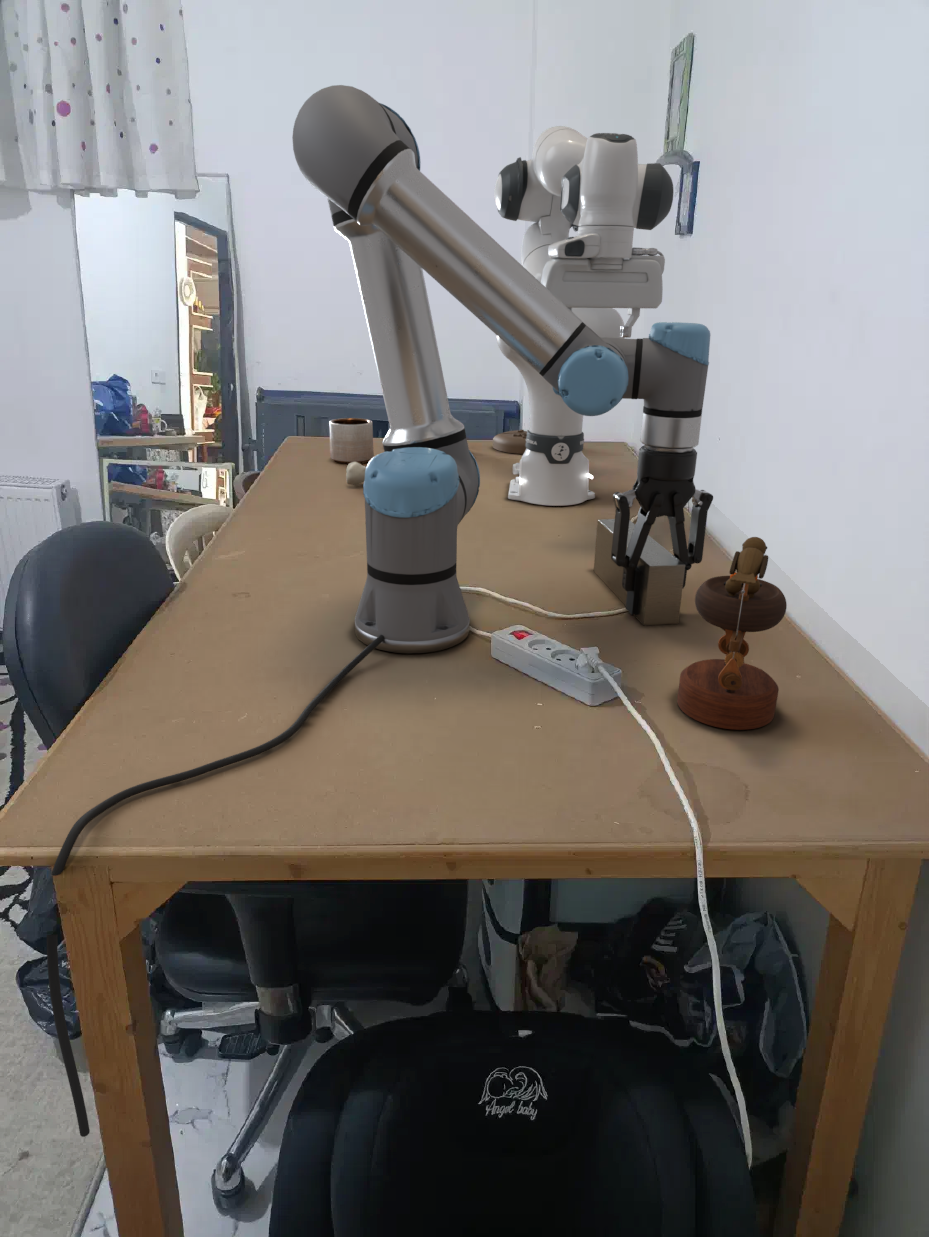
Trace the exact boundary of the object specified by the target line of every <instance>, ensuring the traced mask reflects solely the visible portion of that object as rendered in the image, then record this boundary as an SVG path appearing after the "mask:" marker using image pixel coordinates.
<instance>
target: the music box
mask: <svg viewBox="0 0 929 1237" xmlns="http://www.w3.org/2000/svg"><path fill="white" fill-rule="evenodd" d="M741 547H742V549H741V551H739V550H738V551H737V550H736V551H735V553H734V555H733V558H732V562H731V565H730V568H729V574H730V575H718V576H714V577H710V578H708V579H706V580H705V581H704V582H702V583H701V585H699V587H698V589H697V590H696V592H695V595H694V604H695V609H696V611H697V613H698V614H699V616H700V617H701V618H702V619H703V620H704V621H705V622H707V623H709V624H710V625H712V626H715V627H717V628H720V629H721V630H723V631H724V635H722V636H721V637H719V639H718V642H717V647H718V649H719V651H720V652H721V653H722V654H724V655H725V656H724V659H723V658H712V659H711V658H710V659H702V660H698V661H695V662H693V663H691V664H690V665H688V666H686V667H684V668H683V669H682V670H681V672H680V675H679V683H678V690H677V698H676V702H677V706H678V707H679V709H680V710H681V711H682V712H683V713H684V714H685V715H686V716H688V717H689V718H691V719H693V720H695V721H697V722H699V723H702V724H705V725H707V726H711V727H716V728H718V729H719V728H720V729H725V730H734V731H735V730H736V731H738V730H739V731H741V730H745V731H746V730H754V729H758V728H762V727H764V726H766V725H768V724H770V723H771V722H772V721H773V719H774V718H775V713H776V707H777V703H778V702H777V701H778V696H779V690H780V688H779V685H778V683H777V682H776V680H775V679H773V677H772V676H771V675H770V674H769V673H767V671H765V670H763V669H761V668H759V667H757V666H755V665H752V664H749V663H747V662H745V657H746V656H747V655H748V654H749V651H750V646H749V643H748V641H746V640H745V639H744V638H745V635H746V633H757V632H765V631H768V630H770V629H772V628H774V627H775V626H777V625H778V624H779V623H780V622H782V620H783V618H784V617H785V615H786V612H787V609H788V608H787V606H788V605H787V604H788V603H787V599H786V596H785V594H784V593H783V591H782V590H781V589H780V587H778V586H777V585H775V584H773V583H772V582H769V581H766V580H763V578H764V577H765V574H766V572H767V569H768V568H767V567H768V564H769V555H767V554H766V552H767V550H768V546H767V545H766V542H765V541H764V539H763V538H761V537H758V536H751V537H748V538H747V539H746V540H745V541H744V542H743V543H742V544H741Z"/></svg>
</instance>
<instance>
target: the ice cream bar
mask: <svg viewBox="0 0 929 1237" xmlns="http://www.w3.org/2000/svg"><path fill="white" fill-rule="evenodd" d="M528 430H529V429H527V430H524V429H523V428H522V429H516V430H509V431H504V432H500V433H497V434H495V435H494V436H493V437H492V448H493V449H494V450H496V451H499V452H503V453H509V454H518V455H519V454H520V455H523V454H524V452H525V450H526V446H525V445H526V436H527V431H528Z"/></svg>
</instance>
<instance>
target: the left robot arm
mask: <svg viewBox="0 0 929 1237" xmlns="http://www.w3.org/2000/svg"><path fill="white" fill-rule="evenodd" d="M294 120H295V121H294V123H293V128H292V129H293V130H292V151H293V155H294V159H295V161H296V164H297V166H298V168H299V171H300V173H301V174H302V176H303V177H304V179H305V180H306V181H307V182H308V184H310V186H311V187H313V189H315V191H317V192H319V193H320V194H321V195H323V196H324V197H326V198H327V204H328V208H329V212H330V217H331V221H332V225H333V229H334V231H335V232H336V233H338V234H339V235H340V236H342V237H343V238H344V239H345V240H347V241H348V243H349V247H350V252H351V256H352V261H353V265H354V270H355V274H356V279H357V284H358V288H359V293H360V295H361V301H362V306H363V310H364V315H365V319H366V325H367V328H368V333H369V339H370V342H371V347H372V352H373V356H374V361H375V366H376V370H377V375H378V379H379V383H380V387H381V388H380V389H381V392H382V397H383V401H384V406H385V410H386V415H387V420H388V424H389V429H388V431H387V433H386V435H385V436H384V438H383V440H382V447H383V452H381V453H378V454H376V455H374V457H373V458H372V459H371V460H370V461H368V463H367V464H366V466H365V467H366V470H365V481H364V482H363V485H362V486H363V490H362V493H363V497H364V515H365V516H364V517H365V518H364V520H365V545H366V547H365V548H366V579H365V584H364V586H363V589H362V592H361V596H360V600H359V602H358V606H357V609H356V612H355V617H354V633H355V636H356V638H357V639H358V640H359V641H360V642H362V643H363V644H365V645H367V646H366V647H365V648H364V649H362V650H361V652H359V653H358V654H357V655H356V656H355V657H354V658H353V659H352V660H351V661H350V662H349V663H348V664H346V665H345V666H344V668H342V669H341V670H340V671H339V673H337V674H336V675H335V676H334V677H333V678H332V679H331V680H330V681H329V682H328V683H327V684H326V685H325V686H324V687H323V688H322V690H321V691H320V692H319V693H318V694H317V695H316V696H315V697H314V698H312V700H310V702H309V703H308V704H307V706H305V708H304V709H303V711H302V712H301V713H300V715H299V716H298V718H297V719H296V720H295V721H294V723H292V725H290V727H288V728H287V729H286V730H285V731H283V732H282V733H280V734H279V735H277V736H275V737H274V738H272V739H270V740H268V741H266V742H265V743H262V744H260V745H258V746H255V747H253V748H250V749H248V750H245V751H242V752H239V753H236V754H233V755H229V756H227V757H223V758H220V759H218V760H215V761H212V762H209V763H206V764H204V765H201V766H198V767H194V768H191V769H189V770H185V771H182V772H179V773H174V774H170V775H168V776H164V777H159V778H156V779H153V780H149V781H146V782H142V783H139V784H136V785H134V786H131V787H128V788H125V789H123V790H122V791H120V792H118V793H115V794H113V795H112V796H110V797H109V798H107V799H105V800H103V801H102V802H100V803H98V804H96V805H95V806H94V807H92V808H91V809H89V810H88V811H86V812H85V813H84V814H83V815H81V817H79V818H78V819H77V820H76V822H75V823H74V824H73V826H72V827H71V829H70V830H69V832H68V834H67V836H66V837H65V840H64V842H63V844H62V846H61V848H60V851H59V853H58V855H57V857H56V859H55V862H54V865H53V868H52V871H51V876H53V877H56V876H59V875H61V874H62V873H63V872H64V869H65V866H66V865H67V862H68V860H69V857H70V855H71V853H72V850H73V848H74V846H75V844H76V841H77V840H78V838H79V836H80V835H81V833H82V832H83V830H84V828H85V827H86V826H87V825H88V824H89V823H90V822H91V821H92V820H94V819H95V818H97V817H98V816H100V815H101V814H102V813H104V812H106V811H107V810H109V809H110V808H112V807H114V806H116V805H117V804H119V803H121V802H122V801H124V800H126V799H129V798H131V797H133V796H135V795H138V794H141V793H144V792H147V791H150V790H151V791H152V790H154V789H157V788H161V787H164V786H165V787H166V786H169V785H173V784H176V783H179V782H183V781H186V780H190V779H193V778H196V777H199V776H202V775H204V774H208V773H210V772H213V771H215V770H218V769H221V768H224V767H227V766H230V765H234V764H236V763H239V762H243V761H245V760H249V759H251V758H253V757H256V756H258V755H261V754H263V753H266V752H267V751H270V750H272V749H274V748H275V747H277V746H279V745H281V744H282V743H283V742H286V741H287V740H288V739H290V738H291V737H292V736H293V735H294V734H296V733H297V732H298V731H299V730H300V729H301V727H303V725H304V724H305V722H306V721H307V719H308V718H309V717H310V715H311V714H312V712H313V711H314V710H315V709H316V708H317V707H318V705H319V704H320V703H321V702H322V701H323V700H324V699H325V698H326V697H327V696H328V695H329V694H330V693H331V692H332V691H333V690H334V688H335V687H336V686H337V685H338V684H339V683H341V682H342V681H343V680H344V678H345V677H346V676H347V675H348V674H349V673H350V672H351V671H352V670H353V669H354V668H356V667H357V666H358V665H359V664H360V663H361V662H362V661H363V660H364V659H365V658H366V657H367V656H369V654H370V653H372V652H373V651H374V650H375V649H377V650H380V651H384V652H390V653H396V654H397V653H398V654H425V653H433V652H439V651H443V650H446V649H449V648H452V647H455V646H457V645H458V644H460V643H462V642H463V641H464V640H466V639H467V637H468V636H469V634H470V616H469V612H468V608H467V606H466V601H465V599H464V596H463V593H462V589H461V586H460V583H459V581H458V577H457V561H458V560H457V559H458V558H457V557H458V556H457V554H458V552H457V551H458V526H459V525H460V523H461V522H462V521H463V519H464V518H465V516H466V515H467V514H468V513H469V512H470V511H471V509H472V508H473V506H474V505H475V503H476V502H477V499H478V496H479V492H480V487H481V486H480V485H481V473H480V472H481V471H480V468H479V464H478V462H477V460H476V458H475V455H473V453H472V452H471V450H470V448H469V443H468V438H467V433H466V429H465V424H464V423H463V422H461V421H460V420H458V419H457V418H455V417H454V416H453V415H452V413H451V408H450V403H449V397H448V392H447V388H446V383H445V382H446V381H445V377H444V372H443V368H442V362H441V357H440V352H439V347H438V341H437V337H436V331H435V326H434V322H433V316H432V310H431V306H430V300H429V295H428V289H427V285H426V280H425V275H424V271H425V272H426V273H427V274H428V275H429V276H430V277H431V278H432V279H434V280H435V281H436V282H437V283H438V284H439V285H440V286H441V287H442V288H444V289H445V291H447V292H448V293H449V294H450V295H451V296H452V297H454V298H455V299H456V300H457V301H458V302H459V303H460V304H461V305H462V306H464V308H466V309H467V310H468V311H469V312H470V313H471V314H472V315H473V316H474V317H476V318H477V319H478V320H479V321H480V322H481V323H482V324H483V325H485V326H486V327H487V328H488V329H489V330H490V331H491V332H493V334H494V335H495V336H496V335H497V336H498V337H499V338H500V339H502V340H503V341H504V342H505V343H506V344H507V345H508V346H509V347H511V348H512V349H513V350H514V351H515V352H516V353H517V354H518V355H519V356H521V357H522V358H523V359H524V360H525V361H526V362H527V363H528V364H529V365H531V366H532V367H533V368H534V369H535V370H536V371H537V372H538V373H539V374H540V375H541V376H542V377H543V378H544V379H545V380H546V381H547V382H548V383H550V384H551V385H552V386H553V391H554V393H555V394H557V395H559V396H561V397H562V399H563V401H564V402H565V403H566V405H567V406H568V407H569V408H570V409H571V410H573V411H574V412H576V413H578V414H581V415H583V417H584V416H585V417H597V416H602V415H604V414H606V413H608V412H610V411H611V410H613V409H614V408H615V407H616V406H617V405H618V404H620V402H621V401H622V400H623V399H626V400H643V408H642V416H641V417H642V418H641V429H640V431H641V432H640V440H639V441H640V443H641V444H643V445H642V446H640V448H639V449H638V456H637V457H638V459H637V468H636V480H635V482H634V484H633V485H632V488H631V489H629V490H625V491H624V492H620V491H615V492H614V493H613V494H612V500H613V503H614V507H615V512H614V513H615V514H614V519H615V522H614V531H613V541H612V551H611V559H612V561H613V562H614V563H615V564H616V565H618V566H622V567H623V577H622V587H623V588H624V589H625V591H627V599H626V606H625V609H626V611H627V612H628V613H630V615H631V616H635V615H637V611H638V601H639V591H640V582H641V572H642V571H641V570H640V569H639V568H638V567H637V565H638V562H639V559H640V557H641V554H642V551H643V548H644V546H645V543H646V540H647V537H648V535H649V536H650V531H651V529H652V526H653V525H654V524H655V522H656V519H657V518H660V517H663V516H665V517H667V519H668V524H669V532H670V539H671V546H672V552H673V555H674V556H675V557H676V558H677V559H679V560H680V561H681V562H682V563H684V564H685V572H684V580H683V588H682V590H684V589H685V586H686V581H687V576H688V575H687V573H688V571H689V570H691V568H692V565H694V564H700V563H701V562H702V561H703V557H704V556H703V555H704V546H705V537H706V530H707V521H708V512H709V509H710V508H711V505H712V503H713V500H714V495H713V494H712V493H710V492H708V491H706V490H705V489H697V488H696V485H695V482H694V478H695V475H696V468H697V458H698V451H697V450H696V449H695V448H696V447H698V445H699V444H700V434H701V426H702V425H701V424H702V417H703V416H702V415H703V407H704V400H705V391H706V385H707V379H708V371H709V365H710V362H709V359H710V348H711V347H710V344H711V330H710V329H709V327H707V326H706V325H705V324H702V323H696V322H681V321H680V322H677V321H675V322H673V321H672V322H667V321H665V322H661V321H660V322H655V323H653V324H652V325H651V327H650V332H649V334H648V337H642V338H625V339H624V338H605V337H599V336H598V335H597V334H596V333H595V332H594V331H593V330H592V329H590V328H589V327H588V326H587V325H585V324H584V323H583V322H582V321H581V320H580V319H579V318H578V317H577V316H576V315H575V314H574V313H573V312H572V311H571V310H570V309H568V308H567V307H566V306H565V305H564V304H563V303H562V302H561V301H560V300H559V299H558V298H557V297H555V296H554V295H553V294H552V293H551V292H550V291H549V290H548V289H547V288H546V287H545V286H544V285H543V284H541V283H540V282H539V281H538V280H537V279H536V278H535V277H534V276H533V275H532V274H531V273H530V272H528V271H527V270H526V269H525V268H524V267H523V266H522V263H520V262H519V261H518V260H517V259H516V258H515V257H513V256H512V255H511V253H509V252H508V251H507V250H506V249H505V248H504V247H502V245H500V243H498V241H496V240H495V239H494V238H493V237H492V236H491V235H489V233H488V232H486V231H485V230H484V229H483V228H482V227H481V226H480V225H479V224H478V223H477V222H476V221H475V220H473V219H472V218H471V217H470V216H469V215H468V214H467V213H466V212H464V210H463V209H462V208H460V207H459V205H457V204H456V203H455V202H454V201H453V200H452V199H451V198H450V197H449V196H448V195H447V194H445V193H444V192H443V190H441V189H440V188H439V187H438V186H437V185H436V184H434V183H433V181H431V180H430V179H429V178H428V177H427V176H426V175H425V174H424V173H423V172H422V171H421V164H422V163H421V154H420V148H419V145H418V142H417V140H416V137H415V135H414V133H413V131H412V128H410V127H409V125H408V124H407V122H406V120H405V119H404V118H403V117H402V116H401V115H400V114H399V113H398V112H396V110H394V109H393V108H391V107H390V106H388V105H386V104H384V103H381V102H379V101H377V100H376V99H375V98H374V97H373V96H371V95H370V94H368V93H367V92H366V91H364V90H362V89H359V88H357V87H354V86H351V85H344V84H337V85H330V86H326V87H323V88H320V89H319V90H317V91H316V92H314V93H312V94H311V95H310V96H309V97H308V98H307V99H306V100H305V101H304V102H303V104H302V106H301V107H300V109H299V110H298V112H297V115H296V118H295V119H294ZM634 500H636V501H637V503H638V504H639V509H638V512H637V519H636V523H635V527H634V530H633V533H632V536H631V539H630V542H629V544H628V547H627V538H628V529H629V520H630V519H631V510H630V509H631V508H632V507H633V505H634ZM689 501H691V504H692V506H691V514H690V524H689V532H688V540H687V536H686V529H685V521H686V520H685V510H684V508H685V506H686V505H688V503H689ZM630 521H631V520H630ZM687 541H688V542H687ZM626 547H627V550H626ZM58 946H59V945H58V934H46V961H47V977H48V987H49V988H48V989H49V995H50V1003H51V1009H52V1014H53V1015H52V1016H53V1021H54V1025H55V1026H54V1027H55V1029H56V1035H57V1039H58V1044H59V1048H60V1052H61V1057H62V1060H63V1064H64V1068H65V1071H66V1076H67V1079H68V1085H69V1088H70V1092H71V1096H72V1101H73V1106H74V1110H75V1115H76V1120H77V1124H78V1125H77V1126H78V1131H79V1135H80V1137H81V1138H85V1137H87V1136H88V1135H89V1134H90V1133H91V1132H90V1131H91V1130H90V1125H89V1119H88V1114H87V1109H86V1103H85V1099H84V1094H83V1090H82V1085H81V1081H80V1077H79V1073H78V1068H77V1064H76V1060H75V1056H74V1053H73V1048H72V1044H71V1040H70V1035H69V1031H68V1026H67V1022H66V1016H65V1015H66V1014H65V1010H64V1004H63V997H62V990H61V979H60V971H59V970H60V968H59V951H58V950H59V948H58Z"/></svg>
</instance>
